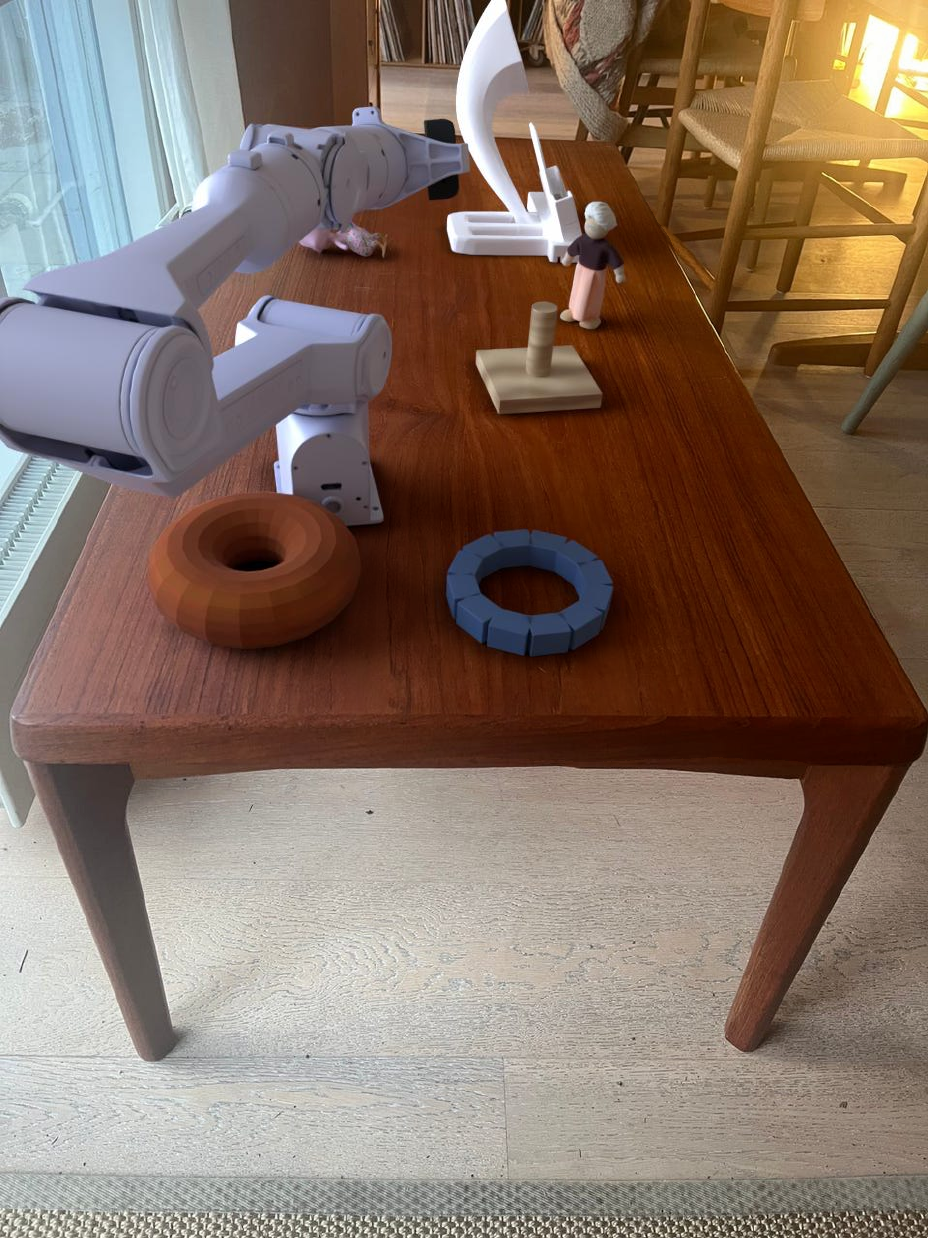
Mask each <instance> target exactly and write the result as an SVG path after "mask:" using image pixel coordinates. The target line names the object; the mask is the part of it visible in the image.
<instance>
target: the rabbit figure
mask: <svg viewBox="0 0 928 1238" xmlns="http://www.w3.org/2000/svg"><path fill="white" fill-rule="evenodd" d="M387 237H388V234H386V235H385V236H383V235H382V234H381V233H380V232H375V233H369V231H367V230H366V229H365V228H363V227H361V226H357V225H356V224H355V223H354V222H353V220H352V221H351V224H350V225H349V227H348V229H347V230H346V231H345V232H344V233H342V234H341V233H340V230H338V231H337V232H335V233H333V232H332V231H331V230H325V229H318V228H315V229H314V230H313V231H311V232H310V233H309V234H308V235H307V236H305V237H304V238H303V239H302V240H301V241H300V242H298V244H300V245H301V246H302V247H306V248H309V249H311V250H313V251H314V252H315V251H316V252H318V253H321V254H322V252H323V250H326V249H328V247H329V244H330V243H332V244H333V245H335V246H337V247H338V248H339V249H340V250H344V251H348V250H350V251H352V252H353V253H356V254H358V255H360V256H361V257H364V258H365V257H366V258H368V257H370V256H372V255H373V253H374V251H375V249H376V248H377V246H379V247H380V248H381V251H382V254H381V255H382V258H383V259H385V254H386V251H387V250H386V249H387V241H388V239H387ZM378 239H381V240H382V243H383V244H382V243H381V242H380V241H379V240H378Z"/></svg>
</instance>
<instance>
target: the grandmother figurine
mask: <svg viewBox="0 0 928 1238" xmlns="http://www.w3.org/2000/svg"><path fill="white" fill-rule="evenodd" d="M584 216H585V217H584V218H585V223H584V232H585V233H582V235H581V236H579V237H578V238H577V239H575V240H574V241H573V243H572V244H571V245H570V246H569V247H568V249H567V252H566V254H565V257H564V258H563V260H562V263H561V264H562V266H563V267H570V266H571V265H572V264H573V263H572V260H573V259H574V258H575V256H577V255H579V261H578V263H576V266H575V271H574V275H573V276H574V277H573V282H572V288H571V291H570V297H569V302H568V303H569V304H568V309H565V310H563V311H562V312H561V313H560V315H559V317H560V319H561V320H562V321H565V322H568V323H569V322H576V321H578V322H579V323H578V324H579V327H581V328H584V329H587V330H595V329H597V328H598V327H599V326H600V325H601V323H602V321H601V318H600V315H601V311H602V306H603V302H604V299H605V290H606V278H607V267H608V266H609V268H610V269H611V270H612V271H613V273H614V275H615V282H616V283H617V284H620V285H621V284H623V283H625V282H626V280H627V277H626V275H625V268H624V264H625V261H624V259H623V257H621V254H620V253H619V251H618V249H616V247H614V246H613V244H611V243H610V242H609V240H608V239H606V238H605V237H606V236H607V235H608V233H609V232H610V231H612V230H613V229H614V228H615V227H618V224H617V219H616V216H615V213H614V212H613V210H612V208H611V206H609V204H608V203H607V202H604V201H592V202H590V203H588V204H587V206H586V207H585V212H584ZM607 265H608V266H607Z"/></svg>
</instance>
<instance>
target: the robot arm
mask: <svg viewBox="0 0 928 1238" xmlns="http://www.w3.org/2000/svg"><path fill="white" fill-rule="evenodd" d="M423 129H424V135H420V134H418V133H414V132H411V131H408V130H405V129H403V128H399V127H396V126H393V125H391V124H387V123H385V122H384V121H383V117H382V111H381V109H380V108H379V107H377V106H364V107H357V108H355V109H354V110H353V112H352V124H351V125H333V126H331V125H330V126H319V127H314V128H311V129H308V128H301V127H294V126H286V125H280V124H273V123H267V124H264V125H263V124H261V123H255V124H254V123H250V124H249V125H248V126H247V128H246V129H245V132H244V133H243V136H242V138H241V142H240V145H239V148H237V149H235V150H234V151H231V152H230V153H228V155H227V164H226V165H224V166H223V167H221V168H220V169H218V170H216V171H214V172H212V174H210V175H208V176H206V177H205V178H204V179H203V180H202V181H201V182H200V183H199V184H198V186H197V187H196V189H195V192H194V194H193V196H192V202H191V212H189V213H187V214H185V215H183V216H181V217H179V218H177V219H175V220H173V221H171V222H169V223H167V224H165V225H164V226H162V227H159V228H158V229H155V230H153V231H151V232H149V233H147V234H145V235H144V236H142V237H139V238H138V239H135V240H133V241H131V242H129V243H127V244H125V245H123V246H121V247H119V248H118V249H115V250H113V251H110V252H109V253H107V254H104V255H102V256H99V257H96V258H91V259H88V260H84V261H81V262H78V263H73V264H70V265H66V266H62V267H59V268H55V269H52V270H48V271H44V272H41V273H37V274H36V275H34V276H33V277H31V278H30V279H29V280H28V281H27V282H26V283H25V284H24V285H23V286H22V287H21V290H22V291H28V292H31V293H33V294H35V295H36V296H37V297H39V301H38V302H35V301H32V300H30V299H26V298H23V297H19V296H5V297H1V298H0V441H1V442H2V443H3V445H4V446H5V447H6V448H8V449H11V450H13V451H16V452H20V453H23V454H25V455H29V456H33V457H37V458H40V459H43V460H46V461H50V462H52V463H56V464H59V465H62V466H64V467H67V468H69V469H72V470H74V471H77V472H79V473H82V474H85V475H87V476H90V477H92V478H95V479H98V480H101V481H103V482H105V483H109V484H110V485H114V486H116V487H119V488H122V489H127V490H131V491H136V492H140V493H145V494H151V495H155V496H159V497H164V498H169V499H176V498H178V497H180V496H182V495H183V494H185V493H186V492H188V490H190V489H191V488H193V487H195V485H197V484H198V483H199V482H201V481H202V480H204V479H205V478H206V477H208V476H209V475H210V474H212V473H213V472H215V471H216V470H217V469H219V468H221V466H222V465H224V464H225V463H227V462H228V461H229V460H231V459H232V458H234V457H235V456H236V455H238V454H240V452H242V451H243V450H244V449H246V448H247V447H248V446H250V445H251V444H252V443H254V442H255V441H257V440H258V439H260V438H261V437H262V436H264V434H266V433H267V432H269V431H270V430H271V429H273V428H274V427H275V431H276V442H277V453H278V460H276V461H275V462H274V463H273V469H274V477H275V478H274V479H275V487H276V493H284V494H292V495H296V496H299V497H302V498H305V499H308V500H311V501H314V502H317V503H318V504H320V505H321V506H323V507H324V508H326V509H327V510H329V511H330V512H332V513H333V514H335V515H336V516H337V517H338V518H340V519H341V520H342V521H343V522H344V524H345V525H346V527H351V526H364V525H374V524H380V523H383V522H384V512H383V508H382V505H381V501H380V496H379V493H378V489H377V484H376V480H375V477H374V473H373V469H372V464H371V460H370V412H369V411H370V410H369V409H370V408H369V406H370V405H369V404H370V402H372V401H374V399H375V398H376V397H377V396H378V395H379V394H381V392H382V391H383V389H384V387H385V385H386V382H387V380H388V376H389V373H390V369H391V363H392V362H391V361H392V354H393V353H392V352H393V338H392V332H391V328H390V326H389V324H388V323H387V321H386V318H385V316H383V315H382V314H379V313H370V314H366V313H359V312H355V311H348V310H343V309H338V308H337V309H336V308H331V307H325V306H320V305H313V304H308V303H302V302H296V301H292V300H291V301H290V300H285V299H281V298H279V297H278V296H272V295H270V294H269V295H263V296H262V297H260V298H259V299H258V300H257V302H256V303H255V304H254V305H253V306H252V308H251V309H250V311H249V312H248V314H247V317H245V318H243V319H242V320H240V321H238V322H237V324H236V329H235V336H234V337H235V338H234V346H233V347H232V348H229V349H227V350H226V351H224V352H222V353H220V354H218V355H216V356H214V355H213V348H212V343H211V339H210V335H209V332H208V328H207V326H206V324H205V321H204V319H203V317H202V315H201V313H200V312H199V310H200V309H201V308H202V307H203V305H204V304H205V303H206V302H208V300H209V299H210V298H211V297H212V296H213V295H214V294H215V293H216V291H217V290H218V289H219V288H220V287H221V286H222V285H223V284H224V283H225V282H226V281H227V280H228V278H229V277H231V276H232V275H233V273H234V272H236V273H239V274H249V275H251V274H258V273H261V272H264V271H265V270H268V269H270V268H271V267H272V266H273V265H274V264H275V263H277V262H278V261H279V260H280V259H282V257H284V255H286V254H287V253H288V252H289V251H290V250H291V249H293V248H294V247H295V246H296V245H298V244H299V242H300V241H301V240H302V239H303V238H304V237H305V236H307V235H308V234H309V233H310V232H311V231H313V230H314V229H315V228H318V229H325V230H330V231H335V230H336V231H340V233H341V234H342V233H344V232H345V231H346V230H347V229H348V228H350V226H349V225H350V224H351V221H353V218H354V216H355V215H356V214H357V213H360V212H365V211H368V210H376V211H377V210H382V209H386V208H388V207H391V206H394V205H395V204H398V203H399V202H401V201H403V200H405V199H407V198H408V197H410V196H413V195H414V194H416V193H418V192H421V191H423V190H424V189H426V188H427V194H428V195H427V197H428V201H442V200H450V199H452V198H455V197H456V196H457V195H458V194H459V191H460V175H462V174H467V173H470V172H471V166H470V165H471V163H470V152H469V149H468V143H465V142H464V143H457V138H456V137H457V136H456V128H455V124H454V122H453V121H452V120H450V119H447V118H434V119H424V120H423Z"/></svg>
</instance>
